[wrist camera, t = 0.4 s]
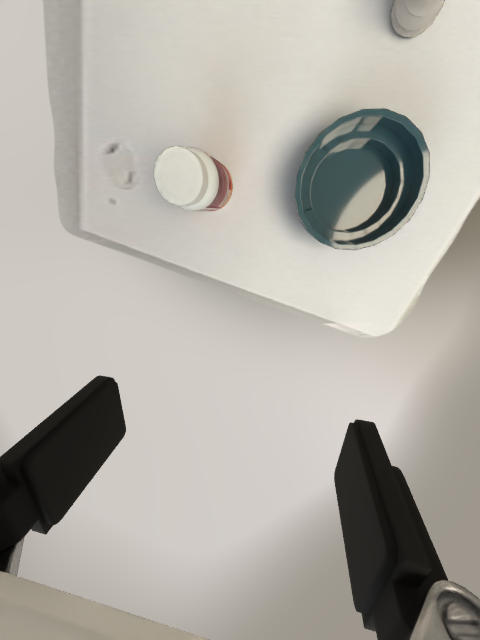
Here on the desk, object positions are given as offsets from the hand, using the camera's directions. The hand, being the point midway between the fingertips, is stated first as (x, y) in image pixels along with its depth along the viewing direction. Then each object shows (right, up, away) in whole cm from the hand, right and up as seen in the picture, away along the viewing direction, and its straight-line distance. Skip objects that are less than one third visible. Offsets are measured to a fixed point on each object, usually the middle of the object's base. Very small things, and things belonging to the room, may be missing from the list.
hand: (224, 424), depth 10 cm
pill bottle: (-3, +23, +25) cm, 34 cm away
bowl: (+14, +21, +22) cm, 33 cm away
